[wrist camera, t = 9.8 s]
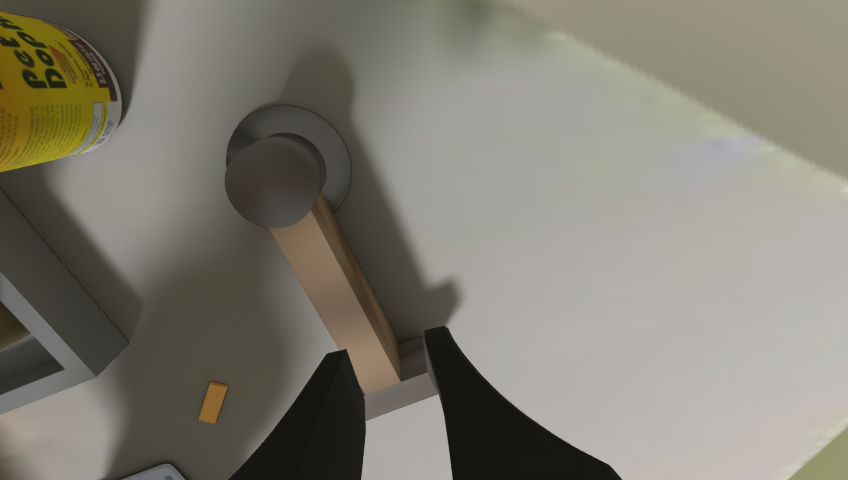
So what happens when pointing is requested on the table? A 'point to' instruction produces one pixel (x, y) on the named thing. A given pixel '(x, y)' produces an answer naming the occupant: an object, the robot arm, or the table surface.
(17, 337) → the olive rounded piece
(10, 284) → the tray
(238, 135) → the crank base
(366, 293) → the crank
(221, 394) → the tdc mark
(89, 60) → the supplement bottle
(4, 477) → the table surface
